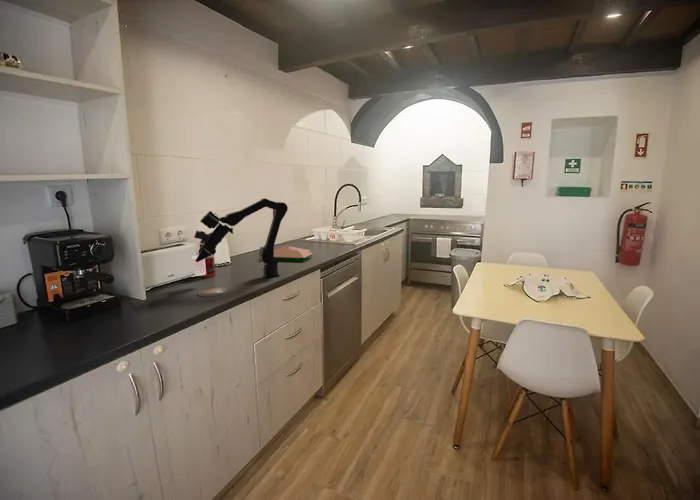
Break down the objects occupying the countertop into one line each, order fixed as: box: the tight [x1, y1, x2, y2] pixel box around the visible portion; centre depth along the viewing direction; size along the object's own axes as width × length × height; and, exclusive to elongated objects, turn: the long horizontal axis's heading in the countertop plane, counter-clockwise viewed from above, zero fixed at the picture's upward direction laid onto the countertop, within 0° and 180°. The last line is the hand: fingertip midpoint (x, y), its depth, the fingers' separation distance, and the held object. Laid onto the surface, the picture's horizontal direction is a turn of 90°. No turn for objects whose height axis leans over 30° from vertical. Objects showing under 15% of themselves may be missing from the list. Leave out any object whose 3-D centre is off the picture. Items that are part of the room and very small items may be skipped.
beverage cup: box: [191, 245, 206, 277], centre depth 170 cm, size 6×6×14 cm
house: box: [273, 245, 314, 263], centre depth 233 cm, size 23×33×8 cm
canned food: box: [200, 254, 217, 278], centre depth 190 cm, size 8×8×11 cm
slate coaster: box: [197, 287, 228, 298], centre depth 161 cm, size 12×12×1 cm
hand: (195, 260), depth 169 cm, fingers closed on beverage cup, 6 cm apart
